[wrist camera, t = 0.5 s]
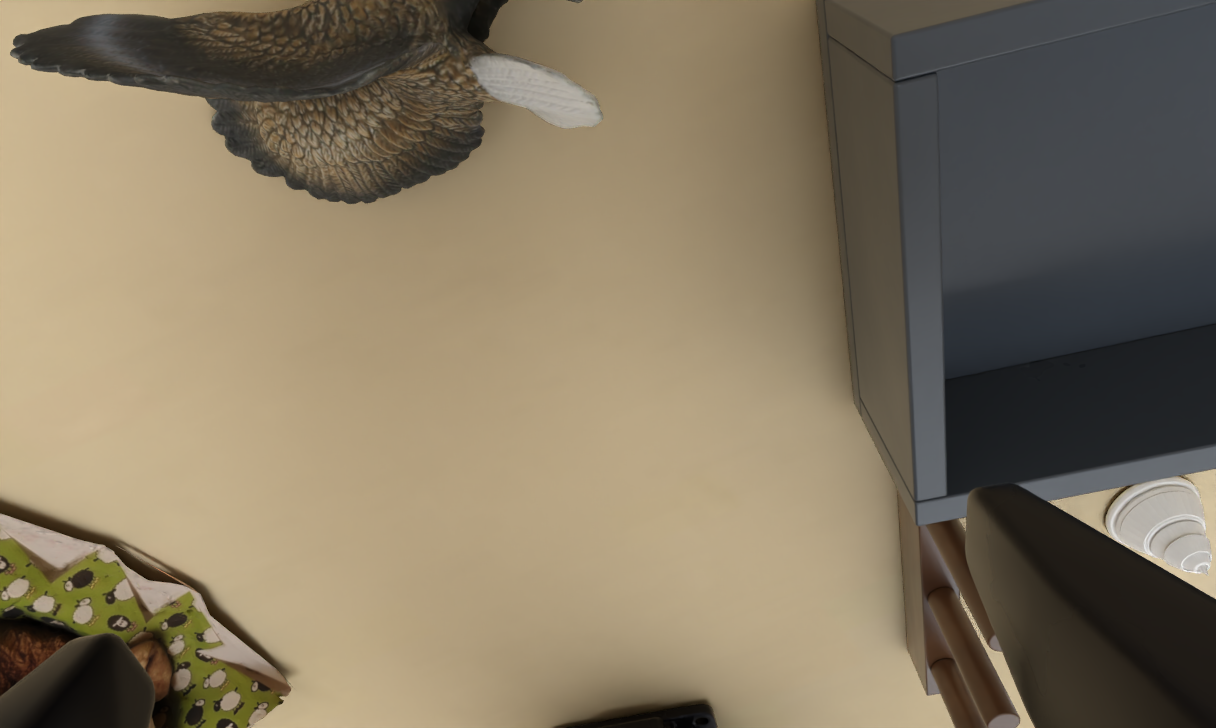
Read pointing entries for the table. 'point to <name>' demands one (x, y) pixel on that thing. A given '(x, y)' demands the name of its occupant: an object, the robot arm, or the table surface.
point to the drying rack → (950, 625)
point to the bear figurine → (126, 629)
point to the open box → (1026, 239)
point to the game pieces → (1163, 523)
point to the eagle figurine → (325, 84)
